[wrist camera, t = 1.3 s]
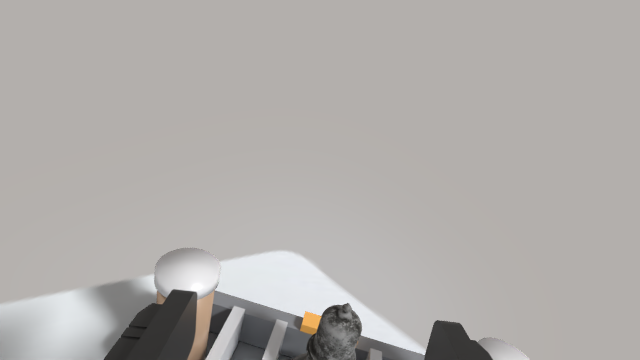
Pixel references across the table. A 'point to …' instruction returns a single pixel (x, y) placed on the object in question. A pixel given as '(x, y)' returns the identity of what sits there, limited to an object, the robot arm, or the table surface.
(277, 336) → the fuse rail
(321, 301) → the table surface
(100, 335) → the table surface
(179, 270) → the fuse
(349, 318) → the salt shaker
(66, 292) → the table surface
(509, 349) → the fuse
